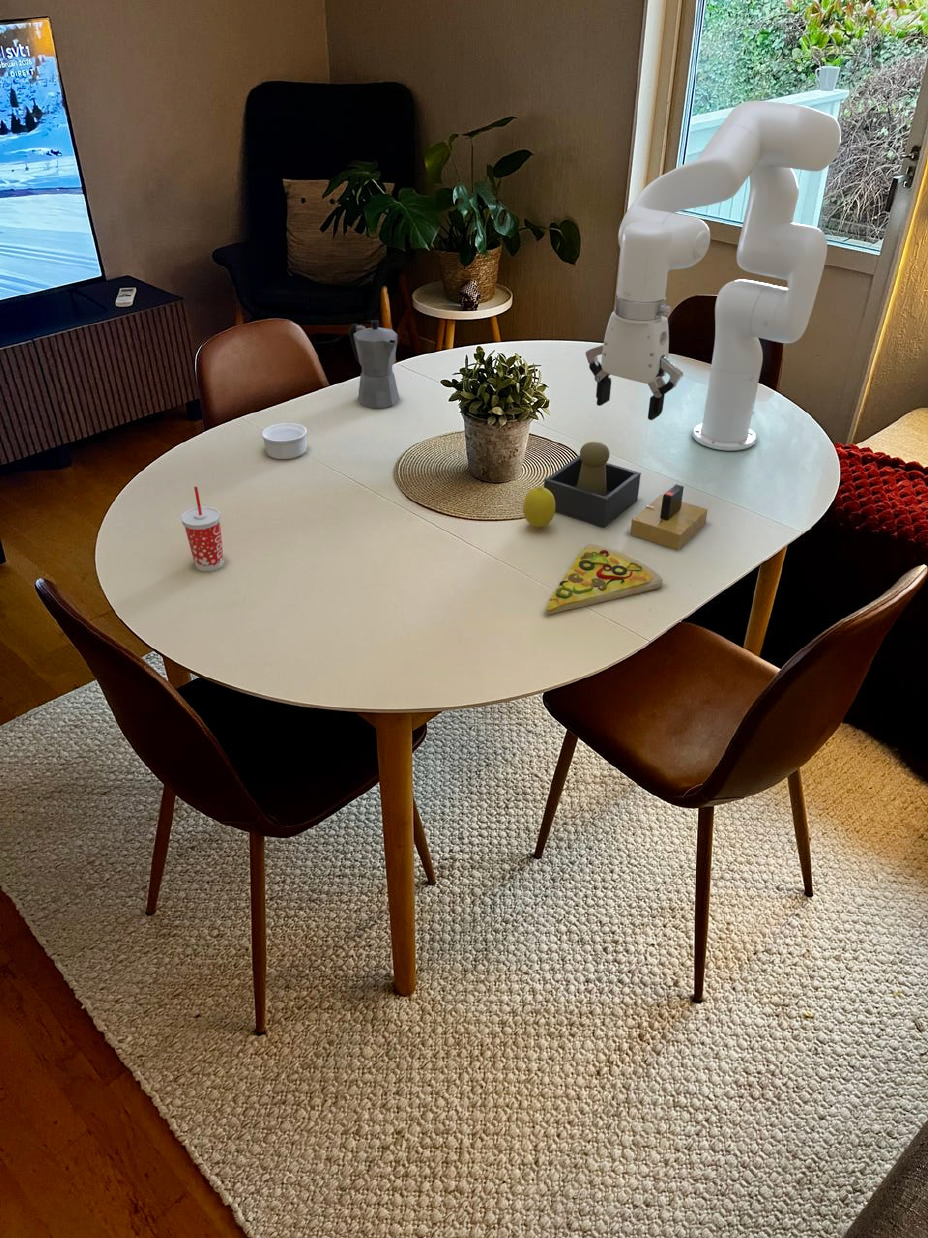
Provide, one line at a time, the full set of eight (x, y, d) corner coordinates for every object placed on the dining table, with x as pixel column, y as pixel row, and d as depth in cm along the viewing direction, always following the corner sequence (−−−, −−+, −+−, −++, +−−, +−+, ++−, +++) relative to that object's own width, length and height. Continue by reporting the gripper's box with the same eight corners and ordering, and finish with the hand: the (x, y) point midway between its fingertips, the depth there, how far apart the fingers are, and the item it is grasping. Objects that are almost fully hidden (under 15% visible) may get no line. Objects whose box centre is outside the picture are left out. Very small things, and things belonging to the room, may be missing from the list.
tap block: (658, 509, 172) (660, 493, 170) (705, 524, 167) (708, 508, 165) (629, 534, 164) (631, 518, 162) (678, 550, 160) (680, 534, 158)
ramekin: (255, 456, 189) (252, 436, 186) (278, 439, 195) (276, 419, 193) (294, 464, 186) (292, 443, 183) (316, 446, 193) (315, 426, 190)
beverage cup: (209, 577, 152) (195, 500, 144) (182, 566, 155) (166, 490, 147) (236, 560, 157) (224, 484, 149) (209, 550, 159) (195, 474, 151)
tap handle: (672, 506, 166) (676, 482, 163) (680, 509, 165) (684, 484, 163) (659, 518, 163) (663, 493, 160) (667, 520, 162) (671, 496, 159)
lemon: (557, 523, 167) (560, 482, 163) (549, 538, 163) (552, 496, 158) (527, 517, 169) (529, 477, 164) (518, 532, 165) (520, 491, 160)
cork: (605, 510, 170) (611, 453, 164) (572, 506, 171) (576, 450, 165) (608, 494, 175) (614, 439, 168) (575, 491, 176) (580, 436, 169)
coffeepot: (414, 403, 211) (412, 322, 200) (381, 415, 205) (377, 332, 195) (369, 384, 220) (365, 306, 209) (337, 395, 214) (331, 315, 204)
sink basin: (578, 481, 180) (580, 454, 177) (637, 500, 174) (641, 472, 171) (542, 507, 172) (544, 479, 169) (603, 528, 166) (606, 499, 163)
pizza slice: (668, 584, 151) (671, 568, 150) (584, 637, 140) (586, 620, 138) (593, 547, 161) (594, 532, 159) (508, 594, 149) (508, 578, 147)
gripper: (700, 312, 148) (685, 415, 157) (603, 291, 156) (595, 391, 166) (678, 324, 143) (663, 430, 153) (579, 302, 151) (572, 404, 161)
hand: (628, 410), depth 159 cm, fingers open, 9 cm apart
